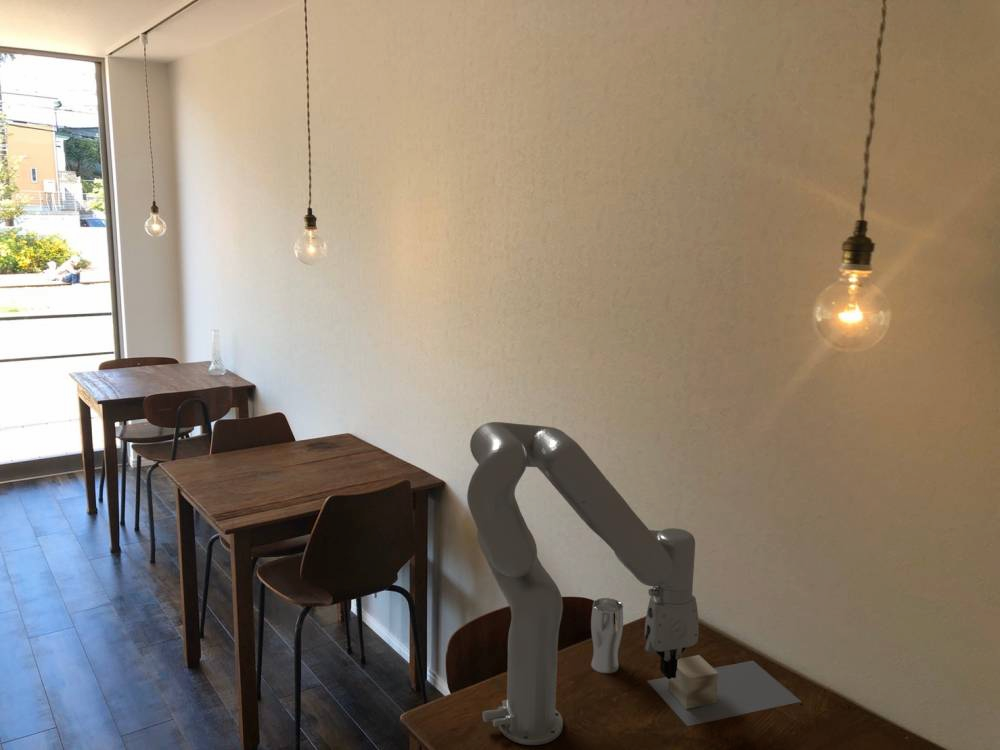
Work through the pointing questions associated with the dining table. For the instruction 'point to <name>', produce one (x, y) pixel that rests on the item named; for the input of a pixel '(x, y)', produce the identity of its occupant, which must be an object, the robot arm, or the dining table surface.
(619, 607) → the beer glass
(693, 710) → the rubber mat
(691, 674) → the birch cube
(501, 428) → the robot arm
